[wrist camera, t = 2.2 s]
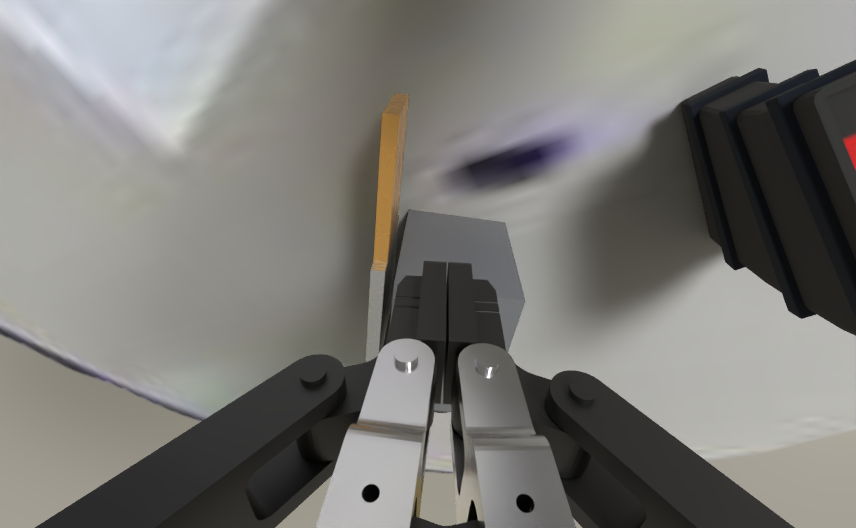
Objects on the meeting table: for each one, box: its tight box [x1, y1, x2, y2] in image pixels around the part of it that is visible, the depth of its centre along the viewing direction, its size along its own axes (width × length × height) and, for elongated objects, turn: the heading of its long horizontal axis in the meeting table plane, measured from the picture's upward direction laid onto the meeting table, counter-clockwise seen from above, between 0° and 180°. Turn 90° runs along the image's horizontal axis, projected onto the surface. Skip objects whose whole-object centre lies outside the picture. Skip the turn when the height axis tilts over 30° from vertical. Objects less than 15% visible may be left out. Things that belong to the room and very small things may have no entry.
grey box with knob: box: [390, 210, 525, 413], centre depth 27 cm, size 12×7×10 cm, turn 173°
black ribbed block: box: [681, 60, 856, 335], centre depth 20 cm, size 4×13×15 cm, turn 30°
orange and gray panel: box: [366, 93, 409, 362], centre depth 25 cm, size 19×1×8 cm, turn 173°
